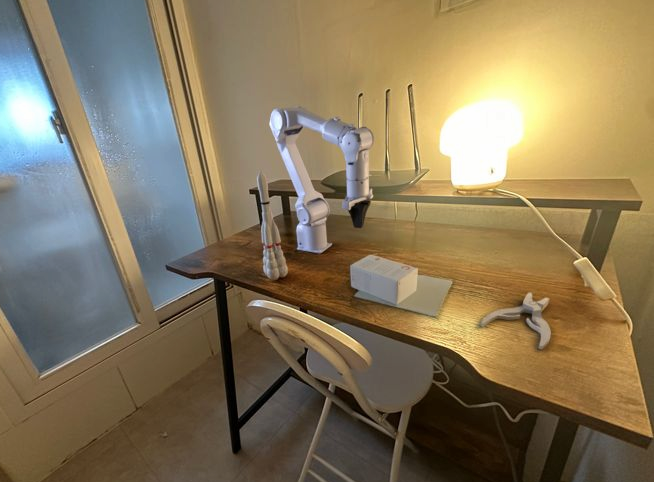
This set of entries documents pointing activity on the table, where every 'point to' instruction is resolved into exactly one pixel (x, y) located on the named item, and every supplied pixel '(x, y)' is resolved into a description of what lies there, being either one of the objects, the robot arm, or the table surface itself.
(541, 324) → the pliers
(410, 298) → the mat
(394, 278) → the small box
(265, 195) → the rocket model
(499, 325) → the table surface
